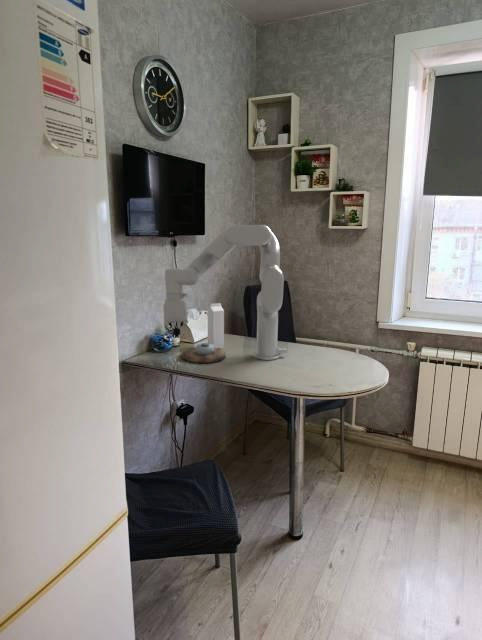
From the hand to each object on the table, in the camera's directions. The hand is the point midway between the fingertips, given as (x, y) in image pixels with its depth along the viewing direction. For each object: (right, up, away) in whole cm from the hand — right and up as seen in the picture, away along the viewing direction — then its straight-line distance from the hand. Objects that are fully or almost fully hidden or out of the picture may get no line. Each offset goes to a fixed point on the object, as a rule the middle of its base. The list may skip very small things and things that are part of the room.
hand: (176, 336), depth 196 cm
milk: (+16, -6, +20) cm, 27 cm away
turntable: (+12, -10, +3) cm, 16 cm away
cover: (+13, -7, +3) cm, 15 cm away
